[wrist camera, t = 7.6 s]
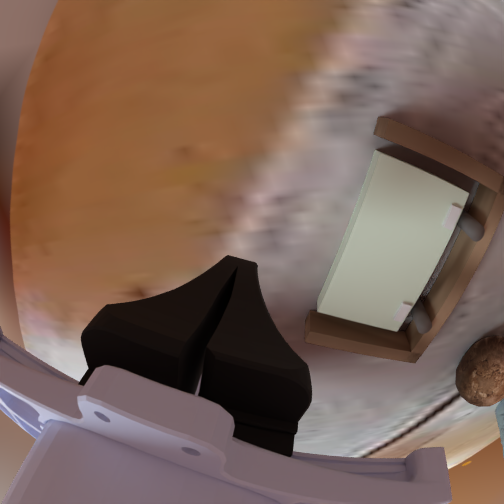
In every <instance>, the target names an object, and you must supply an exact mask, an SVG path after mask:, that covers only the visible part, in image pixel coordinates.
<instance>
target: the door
mask: <svg viewBox="0 0 504 504" xmlns="http://www.w3.org/2000/svg"><path fill="white" fill-rule="evenodd" d="M468 195H469V193H468V192H466V191H465V190H463V189H462V188H460V187H458V186H457V185H455V184H453V183H451V182H449V181H447V180H444V179H442V178H440V177H438V176H436V175H434V174H432V173H430V172H428V171H425V170H423V169H421V168H419V167H416V166H414V165H412V164H410V163H407V162H405V161H403V160H400V159H398V158H395V157H393V156H390V155H388V154H385V153H383V152H380V151H378V150H375V151H374V154H373V157H372V160H371V163H370V166H369V169H368V172H367V175H366V178H365V181H364V184H363V186H362V189H361V192H360V195H359V198H358V200H357V203H356V206H355V209H354V211H353V214H352V216H351V219H350V222H349V224H348V227H347V230H346V232H345V235H344V237H343V240H342V242H341V245H340V247H339V250H338V252H337V255H336V257H335V259H334V262H333V264H332V267H331V269H330V271H329V274H328V276H327V278H326V281H325V283H324V285H323V288H322V290H321V292H320V294H319V297H318V299H317V312H320V313H324V314H328V315H331V316H335V317H339V318H343V319H347V320H351V321H355V322H359V323H363V324H367V325H371V326H375V327H379V328H383V329H388V330H392V331H396V332H397V331H398V330H399V328H400V326H401V325H402V323H403V322H404V320H405V319H406V317H407V316H408V314H409V312H410V311H411V309H412V307H413V306H414V304H415V303H416V301H417V299H418V297H419V296H420V294H421V292H422V291H423V289H424V287H425V285H426V284H427V282H428V280H429V278H430V276H431V275H432V273H433V271H434V269H435V267H436V265H437V263H438V261H439V259H440V257H441V255H442V253H443V252H444V249H445V247H446V245H447V243H448V241H449V239H450V237H451V235H452V233H453V231H454V228H455V226H456V224H457V222H458V219H459V217H460V215H461V213H462V210H463V208H464V205H465V203H466V200H467V198H468Z"/></svg>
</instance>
